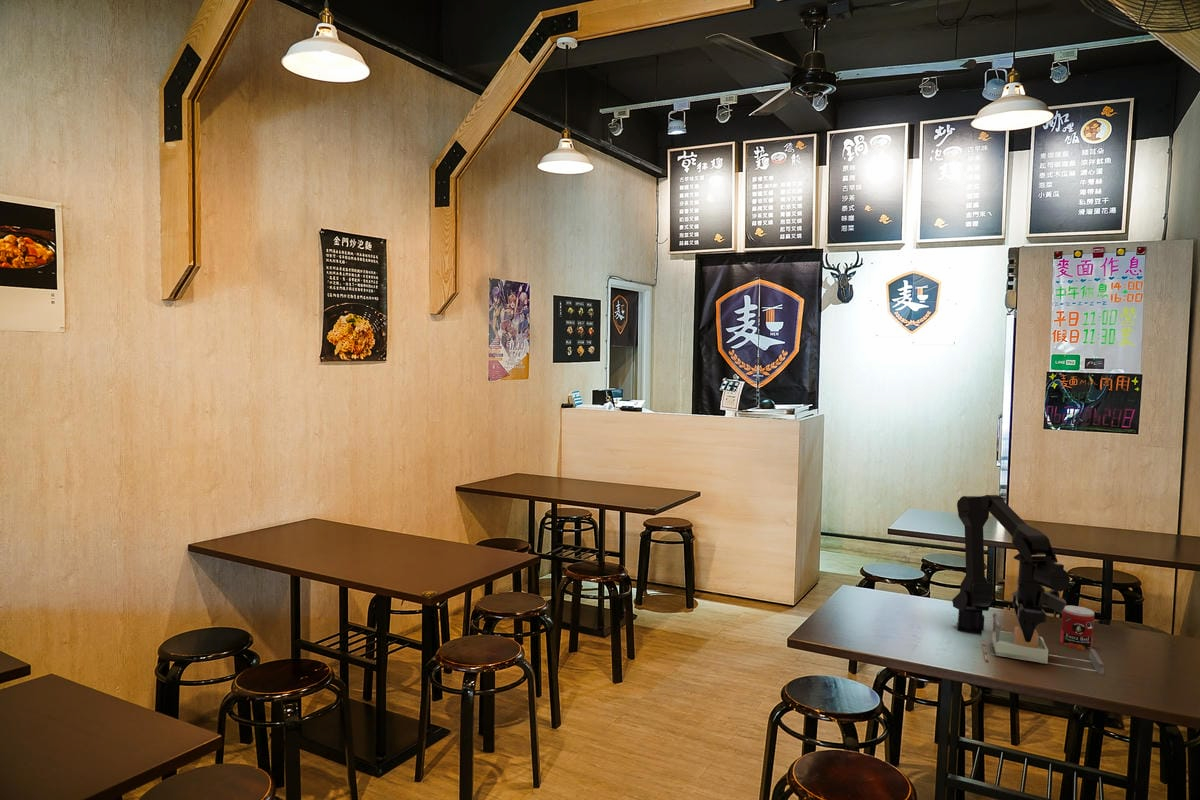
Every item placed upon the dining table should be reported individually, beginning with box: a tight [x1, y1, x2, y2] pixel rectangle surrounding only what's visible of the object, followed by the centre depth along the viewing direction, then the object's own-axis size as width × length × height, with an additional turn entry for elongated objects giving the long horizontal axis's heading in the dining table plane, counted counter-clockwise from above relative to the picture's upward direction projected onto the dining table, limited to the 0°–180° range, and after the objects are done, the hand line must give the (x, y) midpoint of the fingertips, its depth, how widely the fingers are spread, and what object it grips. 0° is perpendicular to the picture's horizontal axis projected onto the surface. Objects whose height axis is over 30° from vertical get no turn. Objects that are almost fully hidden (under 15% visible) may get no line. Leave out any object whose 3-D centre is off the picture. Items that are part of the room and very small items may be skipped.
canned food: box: [1059, 605, 1095, 651], centre depth 218 cm, size 8×8×11 cm
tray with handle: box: [991, 612, 1049, 665], centre depth 208 cm, size 12×11×9 cm
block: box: [1013, 626, 1039, 648], centre depth 208 cm, size 5×5×5 cm
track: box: [980, 639, 1105, 676], centre depth 206 cm, size 27×16×4 cm, turn 67°
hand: (1026, 637), depth 208 cm, fingers open, 7 cm apart
